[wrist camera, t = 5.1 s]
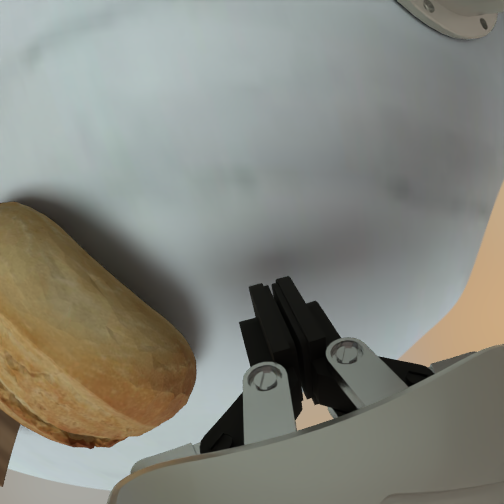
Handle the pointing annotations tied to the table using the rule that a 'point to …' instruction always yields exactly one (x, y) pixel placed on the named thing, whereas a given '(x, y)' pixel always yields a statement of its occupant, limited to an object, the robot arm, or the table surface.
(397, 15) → the table surface
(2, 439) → the walnut board
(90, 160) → the table surface
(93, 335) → the bread roll
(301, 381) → the robot arm
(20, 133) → the table surface
